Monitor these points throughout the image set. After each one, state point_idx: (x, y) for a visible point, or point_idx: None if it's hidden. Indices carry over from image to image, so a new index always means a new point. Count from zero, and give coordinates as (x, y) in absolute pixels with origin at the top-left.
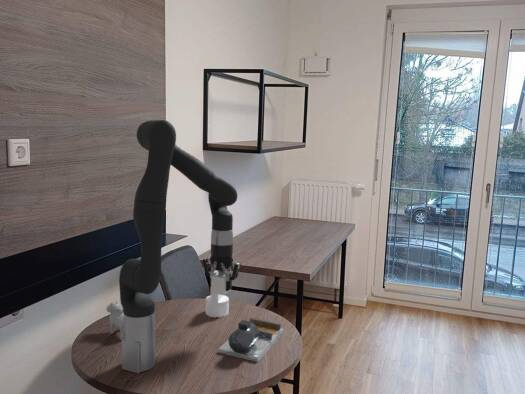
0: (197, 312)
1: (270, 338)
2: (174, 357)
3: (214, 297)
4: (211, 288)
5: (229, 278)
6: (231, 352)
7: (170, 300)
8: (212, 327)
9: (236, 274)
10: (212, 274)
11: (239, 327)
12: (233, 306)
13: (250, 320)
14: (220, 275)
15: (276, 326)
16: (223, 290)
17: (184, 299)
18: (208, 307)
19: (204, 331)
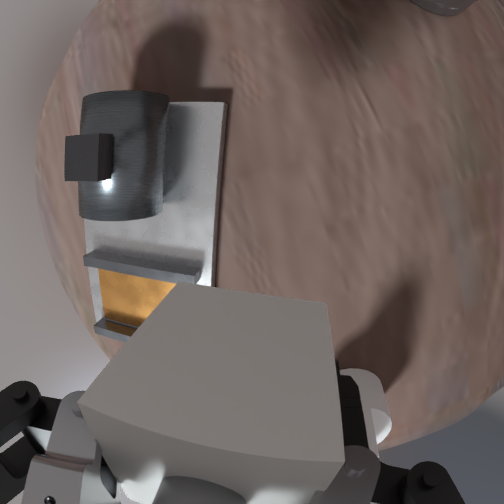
0: (407, 378)
1: (96, 251)
2: (363, 27)
3: None
4: (325, 327)
5: (58, 412)
6: (171, 102)
7: (480, 404)
8: (331, 297)
9: (20, 451)
10: (336, 497)
11: (106, 133)
12: None
13: None
14: (187, 484)
15: (107, 324)
16: (167, 305)
17: (448, 423)
18: (374, 392)
19: (350, 256)
